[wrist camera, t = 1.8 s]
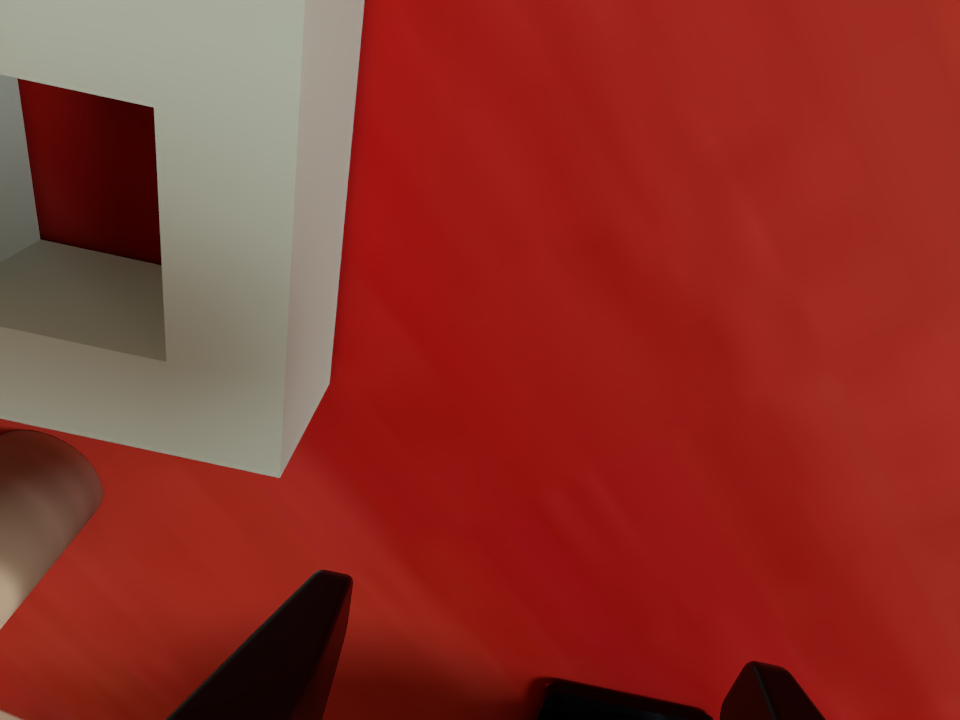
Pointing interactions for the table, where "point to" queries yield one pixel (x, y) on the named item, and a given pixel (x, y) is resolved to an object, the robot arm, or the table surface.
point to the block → (186, 226)
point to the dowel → (39, 509)
